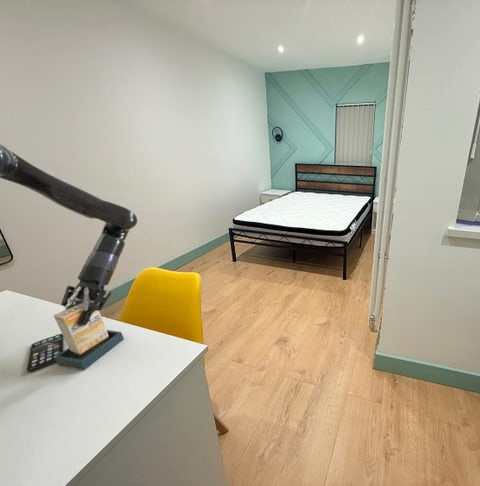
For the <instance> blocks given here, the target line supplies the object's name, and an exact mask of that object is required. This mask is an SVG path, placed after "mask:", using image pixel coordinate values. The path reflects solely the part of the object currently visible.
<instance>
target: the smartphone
mask: <svg viewBox="0 0 480 486" xmlns="http://www.w3.org/2000/svg"><path fill="white" fill-rule="evenodd" d="M63 351H64V337H63V335H62V333H59V334H55V335H53V336H50V337H47V338H44V339H41V340H38V341H36V342H33V343H32V344H31V346H30V352H29V356H28V361H27V368H26V371H27V372H28V373H30V372H33V371H36V370H39V369H40V368H44V367H47V366H49V365H52V364H54V363H57V362H56V360H55V358H54V357H56V356H57V355H59V354H60V353H62V352H63Z"/></svg>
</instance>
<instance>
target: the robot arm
mask: <svg viewBox="0 0 480 486" xmlns="http://www.w3.org/2000/svg"><path fill="white" fill-rule="evenodd" d="M0 179H1V180H5V181H8V182H11V183H14V184H17V185H19V186H22V187H25V188H27V189H29V190H31V191H33V192H35V193H37V194H39V195H41V196H43V197H44V198H45V199H48V200H49V201H51V202H53V203H54V204H56V205H58V206H60V207H63V208H64V209H66V210H68V211H71V212H73V213H75V214H78V215H79V216H80V215H81V216H83V217H84V218H88V219H90V220H91V219H92V220H94V219H95V220H99V221H102V222H104V225H103V227H102V230H101V233H100V236H99V237H98V239H97V240H96V243H95V244H94V247H93V249H92V251H91V252H90V253H89V255H88V256H87V258H86V260H85V262H84V264H83V267H82V268H81V270H80V272H79V274H78V276H77V279H78V280H79V282H78V283H77V284H76V285H75V286H72V285H67V286H66V288H65V292H64V295H63V297H62V300H61V303H60V305H61V307H64V309H65V310H67V309H69V308H71V307H73V306H75V305H77V304H79V303H82V302H83V303H84V304H85V306H84V311H83V312H82V314H81V316H80V318H79V320H78V322H77V324H78V325H86V324H87V323H88V322H89V320H90V317H91V315H92V313H93V312H95V311H99V312H100V311H101V310H102V309H103V308H104V307H105V304H106V303H107V301H108V300H109V298H110V296H111V294H112V291H109V290H106V289H105V287H106V286H108V285H109V284H110V281H111V280H112V277H113V275H114V273H115V271H116V268H117V266H118V264H119V259H120V258H121V255H122V253H123V250H124V248H125V244H126V243H125V240H126V238H127V236H128V234H129V232H130V231H131V230H132V229H133V228H135V227H136V226H137V223H138V217H137V215H136V214H135V213H134V212H133V211H132V210H130V209H128V208H126V207H124V206H122V205H119V204H116V203H113V202H111V201H107V200H104V199H101V198H100V197H98V196H96V195H94V194H92V193H90V192H88V191H86V190H84V189H81V188H80V187H77V186H75V185H73V184H70V183H68V182H67V181H65V180H62V179H60V178H58V177H55V176H54V175H52V174H50V173H48V172H46V171H44V170H42V169H40V168H38V167H37V166H35V165H33V164H32V163H30V162H28V161H27V160H25V159H24V158H22V157H21V156H19V155H18V154H16V153H15V152H14V151H12V150H10V149H8V148H7V147H6V146H5V145H2V144H0ZM68 300H69V301H68ZM90 304H92V305H91V306H90Z"/></svg>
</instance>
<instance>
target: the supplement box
mask: <svg viewBox="0 0 480 486" xmlns="http://www.w3.org/2000/svg"><path fill="white" fill-rule="evenodd" d="M91 305H92V304H90V306H91ZM84 306H85V304H84V303H83V302H82V303H79V304H77V305H75V306H73V307H71V308H69V309H67V310H62V311H60V312H58V313H55V314H53V318H54V320H55V321H56V324H57V326H58V328H59V330H60V334H62V335H63V340H64V341H65V343H66V345H67V348H69V350H70V351H71V352H74V353H76V354H79V355H81V354H82V353H84V352H85V351H87V350H88V349H90V348H92V347H93V346H95V345H96V344H98V343H99V342H101V341H103V340H104V339H106V338H108V337H109V335H108V333H107V330H108V329H107V328H106V325H105V323H104V321H103V318H102V315H101V312H100V311H95V312H93V313H92V315H91V317H90V320H89V322H88V323H87V324H86V325H78V324H77V322H78V320H79V318H80V316H81V314H82V312H83V311H84Z"/></svg>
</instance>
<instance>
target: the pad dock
mask: <svg viewBox="0 0 480 486" xmlns="http://www.w3.org/2000/svg"><path fill="white" fill-rule="evenodd" d="M106 330H107V333H108V335H109V337H108V338H106V339H104V340H103V341H101V342H99V343H98V344H96V345H95V346H93V347H92V348H90V349H88V350H87V351H85V352H84V353H82V354H81V355H79V354H76V353H74V352H71V351H70V350H69V347H67V348H66V349H65V350H63V352H62V353H60V354H59V355H57V356H56V357H54V358H55V360H56V362H55V363H56V364H57V366H60V367H66V368H71V369H77V370H83V371H85V370H86V369H88V368H89V367H90V366H92V365H93V364H95V363H96V362H97V361H99V359H101V358H102V357H103V356H105V355H106V354H107V353H109V352H110V351H111V350H112V349H114V348H115V347H116V346H117V345H119V344H120V343H121V342H122V341H124V340H125V338H124V336H123V333H122V332H121V331H117V330H110V329H106Z"/></svg>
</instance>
